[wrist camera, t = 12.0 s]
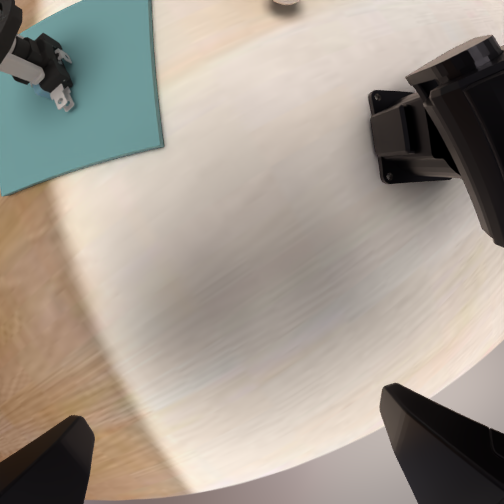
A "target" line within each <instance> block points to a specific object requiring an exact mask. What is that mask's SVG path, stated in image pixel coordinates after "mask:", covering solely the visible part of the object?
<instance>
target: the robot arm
mask: <svg viewBox="0 0 504 504" xmlns="http://www.w3.org/2000/svg"><path fill="white" fill-rule="evenodd" d="M405 78H406V79H407V81H408V82H409V84H410V85H411V86H412V85H413V87H414V88H415V90H416V91H417V92H416V93H412V92H400V91H384V90H375V91H372V92H371V93H370V94H369V101H370V106H371V111H372V117H371V125H372V131H373V137H374V144H375V152H376V154H377V155H378V158H379V166H380V175H381V180H382V181H383V182H384V183H386V184H395V183H408V182H422V181H438V180H450V179H452V178H460V179H463V181H464V184H465V186H466V188H467V191H468V193H469V195H470V198H471V200H472V203H473V205H474V208H475V211H476V213H477V216H478V219H479V222H480V224H481V227H482V229H483V230H484V231H485V232H486V233H487V234H488V235H489V236H490V237H492V238H493V241H494V243H495V244H496V245H499V246H501V247H504V45H503V46H501V47H500V46H499V44H498V43H497V41H496V39H495V38H494V36H493V35H487V36H482V37H477V38H474V39H471V40H469V41H467V42H465V43H463V44H461V45H459V46H457V47H455V48H453V49H451V50H449V51H447V52H446V53H444V54H442V55H441V56H439V57H437V58H436V59H434V60H432V61H431V62H429V63H427V64H426V65H424V66H422V67H421V68H419V69H417V70H416V71H414V72H413V73H411V74H409V75H408V76H406V77H405ZM375 95H377V96H378V98H379V100H376V99H375ZM388 173H389V174H390V179H389V180H388V179H387V177H386V176H387V174H388ZM380 413H381V416H382V419H383V422H384V425H385V427H386V430H387V433H388V436H389V439H390V442H391V445H392V448H393V451H394V453H395V455H396V458H397V460H398V462H399V464H400V466H401V468H402V470H403V472H404V474H405V477H406V479H407V481H408V483H409V485H410V487H411V489H412V491H413V493H414V495H415V498H416V500H417V502H418V504H504V434H503V433H501V432H499V431H496V430H494V429H492V428H490V429H489V427H487V426H485V425H483V424H481V423H478V422H476V421H474V420H472V419H470V418H467V417H465V416H463V415H461V414H459V413H457V412H455V411H453V410H451V409H449V408H447V407H444V406H442V405H440V404H438V403H436V402H434V401H432V400H430V399H428V398H426V397H424V396H422V395H420V394H418V393H416V392H414V391H412V390H410V389H408V388H406V387H404V386H402V385H400V384H398V383H393V384H389V385H386V386H384V387H383V389H382V394H381V400H380ZM94 442H95V436H94V433H93V431H92V430H91V428H90V427H89V425H88V424H87V422H86V420H85V419H84V418H83V417H82V416H76V415H71V416H69V417H68V418H66V419H65V420H63V421H62V422H60V423H59V424H57V425H56V426H54V427H53V428H51V429H50V430H49V431H47V432H46V433H44V434H43V435H41V436H40V437H38V438H37V439H35V440H34V441H32V442H31V443H29V444H28V445H26V446H25V447H23V448H22V449H20V450H19V451H17V452H16V453H14V454H12V455H11V456H9V457H8V458H6V459H5V460H3V461H2V462H0V504H84V499H85V495H86V490H87V486H88V481H89V476H90V470H91V462H92V455H93V448H94Z"/></svg>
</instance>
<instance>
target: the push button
mask: <svg viewBox="0 0 504 504" xmlns="http://www.w3.org/2000/svg"><path fill="white" fill-rule="evenodd" d="M21 23H22V9H20V8H19V7H17V6H16V5H15V0H0V71H1V72H4V73H7V74H10V75H12V77H13V79H14V80H15V81H17V82H20V83H23V84H25V85H28V84H29V83H30V85H31V87H33V90H34V92H35V94H36V95H37V96H40V97H44V98H47V99H50V100H53V101H55V103H56V105H57V108H58V109H59V110H60V109H62V108H64V110H65V112H68V111H69V110H70V109H71V108H72V107H73V106H74V102H73V100H72V98H71V96H70V93H71V91H70V89H69V88H71V87H72V86H73V83H72V81H71V78H70V75H69V73H68V72H67V70H66V68H65V65H64V63H63V61H62V59H64V60H65V61H67V62H69V63H70V64H71V63H72V61H71V59H70V57H69V55H68V54H67V53H65V52H64V51H62V47H61V45H60V43H59V42H57V41H56V40H54V39H53V38H51V37H50V36H48V35H46V34H45V33H42V34H41V35H40V36H39V37H38V38H36V39H35V40H32V39H30V38H28V37H25V38H24V37H22V36H20V35H19V34H17V32H18V30H19V28H20V26H21ZM66 57H67V58H68V59H67V58H66ZM68 101H70V104H69V106H66V104H67V102H68ZM60 102H61V104H59V103H60Z"/></svg>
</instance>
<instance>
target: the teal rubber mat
mask: <svg viewBox="0 0 504 504" xmlns="http://www.w3.org/2000/svg"><path fill="white" fill-rule="evenodd" d="M42 33H45V34H46V35H48V36H50V37H51V38H53V39H54V40H56V41H57V42H59V43H60V45H61V47H62V51H64V52H65V53H67V54H68V55H69V57H70V59H71V61H72V63H71V64H70V63H69V62H67V61H65V60H64V59H62V61H63V63H64V65H65V68H66V70H67V72H68V73H69V75H70V78H71V81H72V83H73V86H72V87H71V88H69V89H70V91H71V93H70V96H71V98H72V100H73V102H74V106H73V107H72V108H71V109H70V110H69V111H68V112H65V110H64V108H62V109H60V110H59V109H58V108H57V105H56V103H55V101H53V100H50V99H47V98H44V97H40V96H37V95H36V94H35V92H34V90H33V87H31V85H30V83H29V84H28V85H25V84H23V83H20V82H17V81H15V80H14V79H13V77H12V75H10V74H7V73H4V72H1V71H0V189H1V196H8V195H11V194H13V193H16V192H18V191H21V190H23V189H26V188H28V187H31V186H34V185H36V184H39V183H42V182H44V181H47V180H50V179H53V178H55V177H58V176H61V175H64V174H67V173H70V172H73V171H76V170H79V169H83V168H86V167H89V166H92V165H96V164H99V163H102V162H106V161H109V160H113V159H117V158H120V157H124V156H128V155H132V154H136V153H140V152H144V151H148V150H152V149H157V148H161V147H164V143H163V135H162V127H161V119H160V111H159V102H158V92H157V82H156V71H155V59H154V45H153V29H152V6H151V0H82V1H80V2H78V3H75V4H73V5H71V6H69V7H67V8H65V9H63V10H61V11H59V12H57V13H55V14H53V15H51V16H49V17H48V18H46V19H44V20H42V21H40V22H39V23H37V24H35V25H33V26H32V27H30V28H28V29H27V30H25V31H24V32H22V33H20V34H19V35H20V36H22V37H24V38H25V37H28V38H30V39H32V40H35V39H36V38H38V37H39V36H40V35H41V34H42ZM66 58H67V57H66ZM67 59H68V58H67ZM59 104H61V102H60V103H59ZM69 104H70V101H68V102H67V104H66V106H69Z"/></svg>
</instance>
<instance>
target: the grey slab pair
mask: <svg viewBox="0 0 504 504" xmlns="http://www.w3.org/2000/svg"><path fill="white" fill-rule="evenodd" d="M273 1H274V2H276V3H278V4H281V5H292V4H295V3H297V2H298V1H300V0H273Z"/></svg>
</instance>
